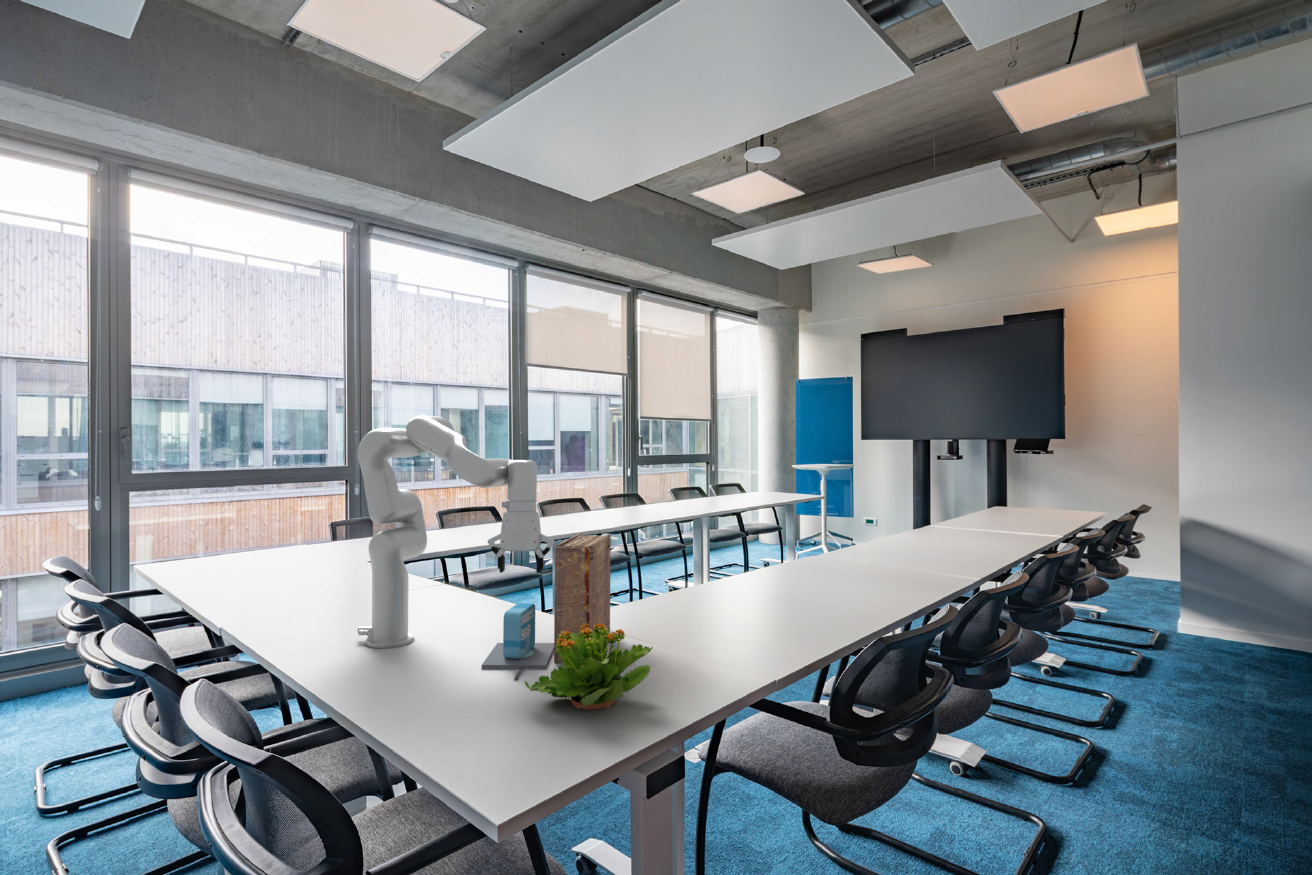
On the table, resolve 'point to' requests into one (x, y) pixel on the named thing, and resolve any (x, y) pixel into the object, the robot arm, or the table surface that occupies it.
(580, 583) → the book
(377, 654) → the table surface
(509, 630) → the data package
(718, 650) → the table surface
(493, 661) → the charging mat
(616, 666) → the potted flower
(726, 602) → the table surface
